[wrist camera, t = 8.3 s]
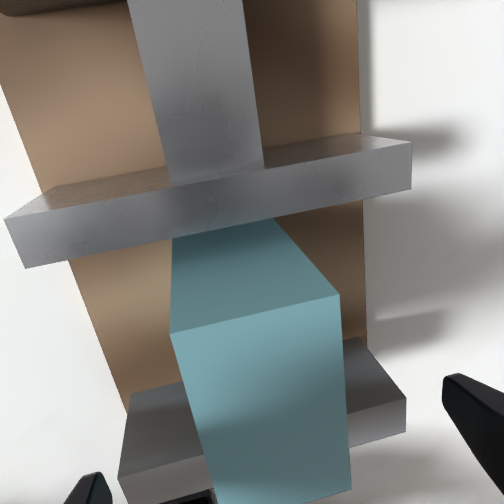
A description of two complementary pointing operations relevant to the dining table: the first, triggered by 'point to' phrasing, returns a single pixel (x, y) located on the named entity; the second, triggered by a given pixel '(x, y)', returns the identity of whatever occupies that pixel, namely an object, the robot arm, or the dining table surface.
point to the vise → (160, 253)
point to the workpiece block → (261, 364)
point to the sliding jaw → (199, 147)
